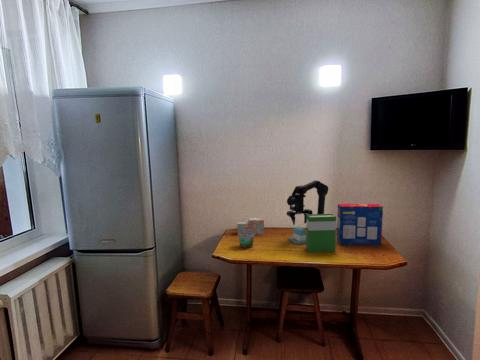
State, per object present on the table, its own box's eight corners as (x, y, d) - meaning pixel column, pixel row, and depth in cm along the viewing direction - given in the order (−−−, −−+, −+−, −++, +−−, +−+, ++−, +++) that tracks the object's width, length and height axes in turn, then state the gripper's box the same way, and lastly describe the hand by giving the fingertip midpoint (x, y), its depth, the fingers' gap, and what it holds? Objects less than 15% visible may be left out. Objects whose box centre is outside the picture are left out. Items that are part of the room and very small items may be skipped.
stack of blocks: (237, 235, 217) (237, 220, 216) (237, 232, 224) (237, 218, 222) (264, 234, 217) (263, 219, 215) (263, 232, 223) (263, 217, 222)
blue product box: (376, 241, 197) (378, 204, 193) (380, 245, 189) (382, 206, 185) (336, 240, 200) (337, 203, 196) (339, 244, 192) (340, 206, 188)
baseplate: (302, 237, 209) (302, 235, 208) (310, 242, 197) (310, 240, 197) (288, 239, 205) (288, 237, 205) (296, 244, 194) (296, 242, 194)
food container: (235, 248, 191) (234, 234, 189) (238, 244, 196) (238, 231, 195) (251, 250, 186) (251, 236, 185) (254, 246, 192) (254, 233, 191)
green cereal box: (331, 247, 188) (332, 213, 185) (335, 251, 181) (336, 216, 177) (306, 247, 188) (306, 214, 185) (308, 252, 181) (309, 217, 178)
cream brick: (299, 236, 206) (299, 231, 205) (305, 240, 198) (305, 235, 198) (293, 237, 204) (293, 232, 203) (299, 241, 196) (299, 236, 196)
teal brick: (298, 231, 205) (298, 226, 205) (305, 234, 198) (305, 229, 198) (293, 233, 203) (293, 227, 202) (300, 236, 196) (300, 230, 195)
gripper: (304, 200, 208) (304, 219, 210) (283, 202, 202) (283, 222, 204) (313, 203, 197) (312, 223, 199) (290, 205, 191) (290, 226, 194)
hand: (299, 224), depth 199 cm, fingers open, 9 cm apart
